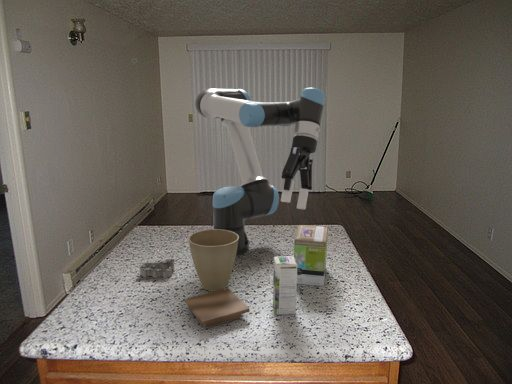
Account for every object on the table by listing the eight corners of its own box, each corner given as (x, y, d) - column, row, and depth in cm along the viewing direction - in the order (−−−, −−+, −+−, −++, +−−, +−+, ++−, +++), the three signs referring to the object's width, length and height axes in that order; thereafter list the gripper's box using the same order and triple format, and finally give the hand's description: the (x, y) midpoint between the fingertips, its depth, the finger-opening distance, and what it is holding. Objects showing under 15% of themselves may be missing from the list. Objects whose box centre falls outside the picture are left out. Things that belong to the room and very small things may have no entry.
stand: (185, 308, 108) (184, 298, 108) (228, 297, 114) (228, 287, 114) (202, 332, 97) (202, 321, 97) (249, 318, 103) (249, 308, 103)
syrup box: (272, 304, 110) (272, 256, 107) (293, 303, 111) (294, 255, 107) (274, 315, 105) (275, 264, 101) (296, 314, 105) (298, 263, 102)
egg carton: (176, 269, 134) (176, 258, 133) (169, 279, 127) (168, 267, 126) (146, 268, 135) (145, 256, 134) (137, 277, 128) (136, 266, 127)
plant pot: (203, 302, 111) (201, 249, 108) (183, 282, 124) (180, 234, 120) (248, 289, 119) (248, 239, 115) (225, 271, 131) (224, 226, 128)
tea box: (324, 287, 120) (326, 241, 117) (292, 284, 122) (292, 239, 119) (326, 266, 135) (328, 225, 131) (297, 264, 137) (297, 223, 133)
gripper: (303, 125, 109) (290, 200, 107) (327, 150, 131) (317, 213, 129) (279, 124, 113) (265, 196, 110) (306, 148, 135) (295, 209, 132)
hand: (293, 205), depth 120 cm, fingers open, 13 cm apart
